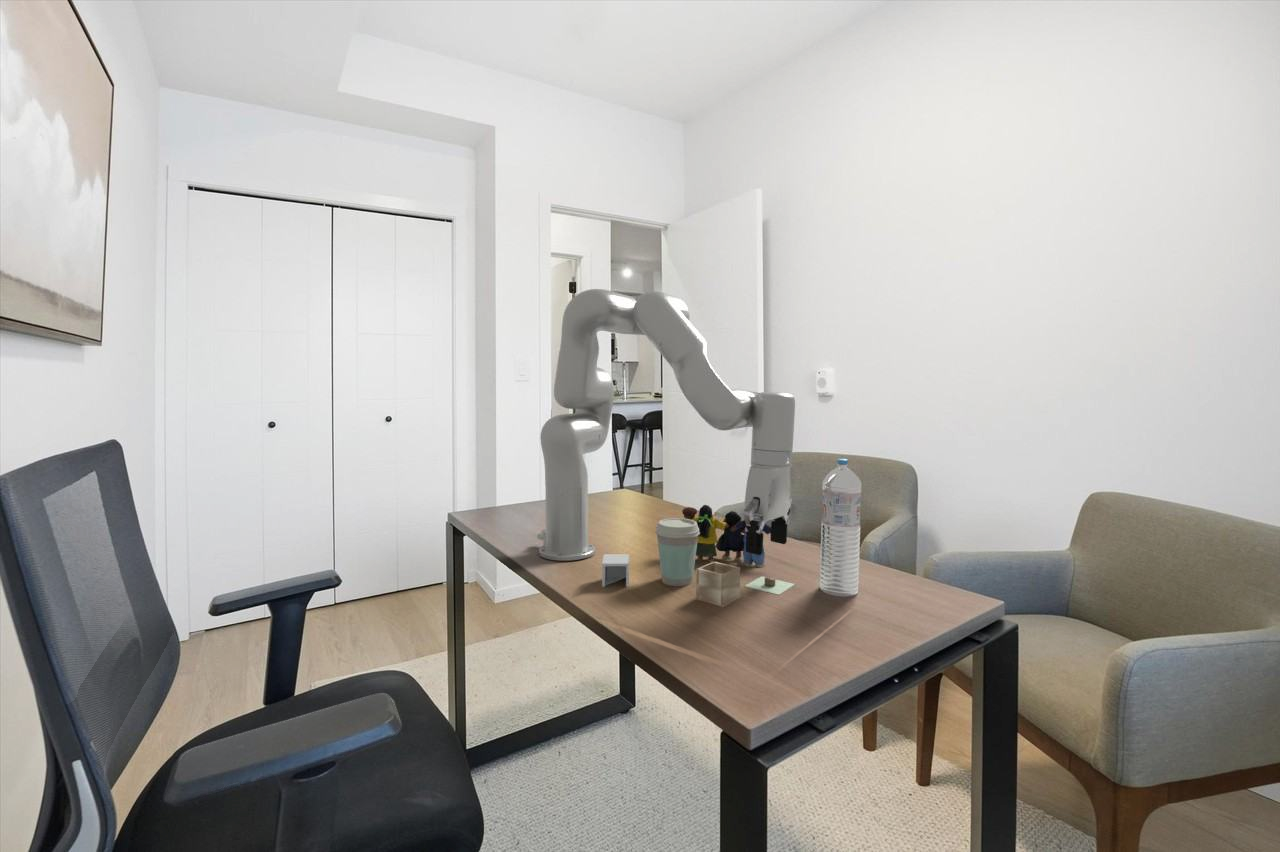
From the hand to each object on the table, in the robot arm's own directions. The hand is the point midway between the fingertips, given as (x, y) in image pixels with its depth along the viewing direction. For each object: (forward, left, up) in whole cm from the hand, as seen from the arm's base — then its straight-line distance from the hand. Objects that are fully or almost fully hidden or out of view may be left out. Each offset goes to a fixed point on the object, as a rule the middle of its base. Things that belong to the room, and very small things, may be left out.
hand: (766, 547), depth 113 cm
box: (-3, -12, -8) cm, 15 cm away
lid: (+1, 0, -8) cm, 8 cm away
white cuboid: (-23, -17, -8) cm, 30 cm away
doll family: (-15, +9, -8) cm, 19 cm away
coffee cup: (-14, -9, -8) cm, 19 cm away
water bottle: (+12, +6, -8) cm, 15 cm away
